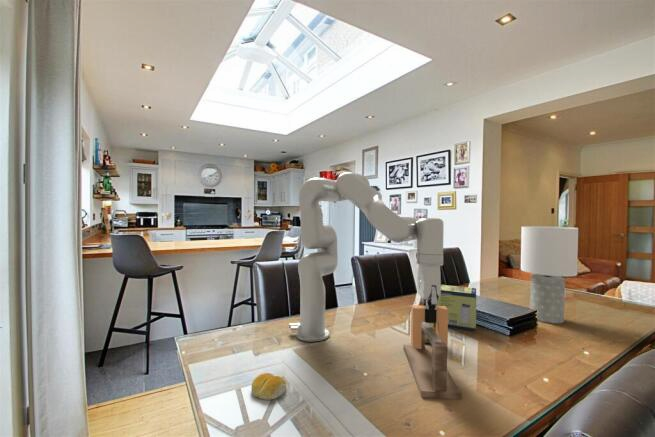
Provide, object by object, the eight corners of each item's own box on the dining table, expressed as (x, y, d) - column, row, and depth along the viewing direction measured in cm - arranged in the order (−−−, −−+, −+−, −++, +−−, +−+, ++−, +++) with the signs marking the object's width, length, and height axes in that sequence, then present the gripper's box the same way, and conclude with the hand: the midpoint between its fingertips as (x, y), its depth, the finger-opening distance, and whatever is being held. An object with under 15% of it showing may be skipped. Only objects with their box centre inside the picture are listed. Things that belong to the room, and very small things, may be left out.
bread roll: (266, 379, 87) (266, 365, 87) (290, 389, 82) (291, 374, 82) (243, 393, 80) (243, 378, 80) (269, 405, 75) (269, 389, 75)
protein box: (437, 318, 139) (438, 284, 138) (476, 324, 132) (476, 288, 132) (435, 325, 129) (435, 289, 129) (476, 332, 122) (476, 293, 122)
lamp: (539, 309, 152) (541, 226, 151) (587, 324, 133) (589, 228, 132) (509, 314, 145) (511, 226, 144) (554, 330, 125) (557, 228, 125)
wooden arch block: (412, 348, 91) (413, 308, 91) (410, 344, 94) (411, 305, 94) (447, 349, 90) (447, 309, 90) (444, 345, 93) (444, 306, 93)
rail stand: (421, 396, 79) (421, 346, 79) (403, 348, 107) (404, 311, 107) (461, 399, 78) (462, 348, 78) (432, 350, 106) (433, 312, 106)
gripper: (411, 255, 100) (411, 311, 101) (423, 263, 84) (422, 330, 84) (435, 255, 100) (434, 312, 100) (451, 264, 83) (450, 331, 84)
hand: (428, 319), depth 92 cm, fingers closed on wooden arch block, 3 cm apart
